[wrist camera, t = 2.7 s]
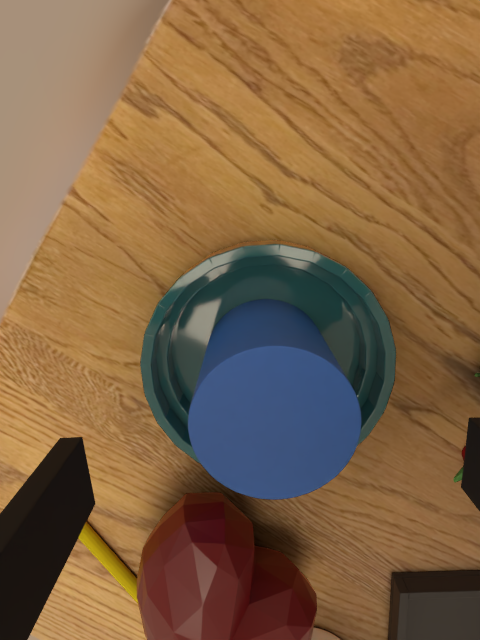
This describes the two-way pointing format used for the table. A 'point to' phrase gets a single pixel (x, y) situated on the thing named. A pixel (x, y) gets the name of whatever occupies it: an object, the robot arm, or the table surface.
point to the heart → (219, 579)
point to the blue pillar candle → (272, 404)
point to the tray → (435, 606)
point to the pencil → (109, 560)
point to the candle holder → (323, 635)
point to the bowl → (254, 284)
